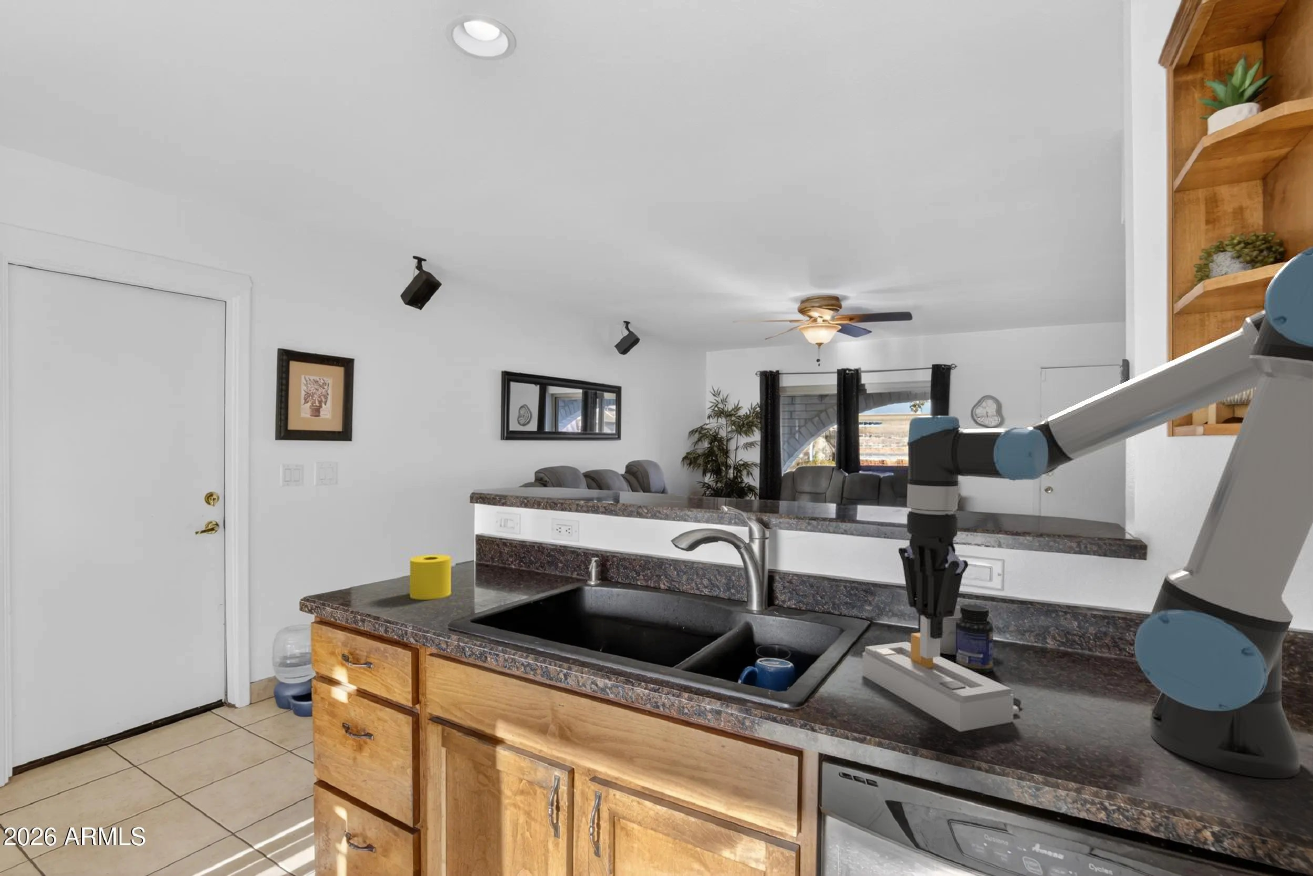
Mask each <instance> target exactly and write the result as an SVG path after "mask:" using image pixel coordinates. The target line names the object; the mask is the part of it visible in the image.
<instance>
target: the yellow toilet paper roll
mask: <svg viewBox="0 0 1313 876" xmlns="http://www.w3.org/2000/svg"><path fill="white" fill-rule="evenodd" d="M451 581H452V557H451V556H450V555H448V554H425V555H418V556H415V557H411V558H410V559H409V597H410V598H411V599H414V600H423V601H424V600H436V599H442V598H446V597H448V596H450V595H451V594H452V590H451V589H452V587H451V586H452V582H451Z"/></svg>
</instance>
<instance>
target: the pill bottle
mask: <svg viewBox="0 0 1313 876" xmlns="http://www.w3.org/2000/svg"><path fill="white" fill-rule="evenodd" d="M960 613H961V614H962V617H961V618H959V619H957V621H956V655H955V664H957V665H960V666H962V667H964V668H966V669H969V670H971V671H973V672H975V673H977V674H979V673H980V674H982V673H983V674H986V673H987V674H988V673H991V672H992V671H993V669H994V628H993V625H992V624H991V623H990V622H989V621H988V619H987V617H988V616H989V614H990V610H989V608H988V607H986V606H984V605H978V604H969V603H965V604H961V605H960Z"/></svg>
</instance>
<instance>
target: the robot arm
mask: <svg viewBox="0 0 1313 876" xmlns="http://www.w3.org/2000/svg"><path fill="white" fill-rule="evenodd" d="M1274 275H1275V276H1274V277H1273V278H1271V281H1270V283H1269V284H1268V286H1267V289H1266V291H1265V294H1264V305H1263V306H1264V309H1262V310H1261V311H1258V312H1256V313H1254V314H1252V315H1250V316H1248V317H1246V318H1245V319H1244V321H1243V324H1242V326H1241V328H1240V329H1239V330H1236V331H1234V332H1232V333H1230V334H1227V335H1226V336H1223V337H1221V338H1219V339H1217V340H1215V341H1213V342H1211V343H1208V344H1205V345H1204V346H1202V347H1199V348H1197V349H1196V350H1193V351H1191V352H1189V353H1186V354H1183V355H1181V356H1180V357H1177V358H1176V359H1174V360H1171V361H1169V362H1166V363H1165V364H1162V365H1160V366H1158V367H1156V368H1154V369H1151V370H1149V371H1148V372H1145V373H1143V374H1141V375H1138V376H1137V377H1134V378H1132V379H1130V380H1128V381H1125V382H1123V383H1121V384H1119V385H1117V386H1115V387H1113V388H1112V387H1111V388H1110V389H1108V390H1106V391H1104V392H1101V393H1098V394H1097V395H1095V396H1092V397H1091V398H1087V399H1086V400H1084V401H1081V402H1079V403H1077V404H1075V405H1073V406H1071V407H1069V408H1067V409H1064V410H1062V411H1060V412H1058V413H1055V414H1054V415H1051V416H1049V417H1048V418H1046V419H1042V420H1040V421H1038V422H1036V423H1034V424H1032V425H1029V426H1027V427H1025V428H1023V427H1009V428H1008V427H1007V428H1006V427H1005V428H1003V427H1000V428H999V427H997V428H994V427H993V428H991V427H990V428H989V427H988V428H965V427H961V425H960V418H958V417H957V416H954V415H920V416H919V415H917V416H915V417H912V418H911V420H910V422H909V428H908V440H907V443H906V445H907V447H908V449H907V451H908V453H907V455H908V457H907V461H908V462H907V465H908V467H907V469H908V470H907V471H908V473H907V474H908V475H907V476H908V478H907V491H906V492H907V493H906V494H907V495H906V507H907V508H908V509H910V510H909V511H908V512H907V513H906V532H907V533H908V534H909V535H910V539H909V542H908V543H909V544H908V545H907V546H904V547H899V548H898V554H899V556H900V557H899V558H900V559H901V562H902V568H903V574H904V582H905V589H906V595H907V602H908V605H909V607H910V608H914V609H915V610H916V613H917V614H918V615H917V616H918V623H917V625H918V627H917V628H918V633H920V656H923V657H925V658H933V657H941V653H940V638H942V636H943V619H944V617H951V616H954V612H955V608H956V607H957V602H958V598H959V594H960V588H961V586H962V585H961V584H962V580H963V575H964V573H965V572H966V570H967V568H968V567H969V562H968V561H967V560H966V559H960V558H959V556H958V555H957V554H956V548H955V547H956V546H955V545H954V540H955V537H956V536H957V535H958V515H957V513H955V511H957V510H958V500H959V493H958V492H959V477H975V478H976V477H977V478H989V479H1003V480H1005V479H1007V480H1009V481H1024V480H1026V481H1027V480H1028V481H1029V480H1038V479H1040V478H1041V477H1042V476H1043V475H1046V474H1048V473H1051V472H1053V471H1055V470H1057V469H1058V468H1059V467H1060V466H1062V465H1065V464H1067V463H1071V461H1074V460H1077V459H1079V458H1082V457H1085V456H1086V455H1089V454H1091V453H1094V452H1097V451H1099V450H1102V449H1105V448H1107V447H1109V446H1111V445H1114V444H1117V443H1119V442H1122V441H1125V440H1127V439H1129V438H1132V437H1134V436H1137V435H1139V434H1142V433H1144V432H1146V431H1149V430H1152V429H1155V428H1156V427H1157V428H1158V427H1159V426H1162V425H1165V424H1167V423H1169V422H1172V421H1173V420H1177V419H1179V418H1182V417H1184V416H1187V415H1189V414H1191V413H1194V412H1196V411H1200V410H1202V409H1204V408H1207V407H1209V406H1211V405H1214V404H1217V403H1219V402H1222V401H1225V400H1226V399H1229V398H1232V397H1234V396H1237V395H1240V394H1242V393H1245V392H1247V391H1250V390H1252V389H1254V392H1253V393H1252V396H1251V399H1250V402H1249V404H1248V407H1247V410H1246V412H1245V415H1244V417H1243V420H1242V422H1241V424H1240V427H1239V430H1238V433H1237V435H1236V438H1235V441H1234V442H1233V445H1232V448H1231V450H1230V453H1229V456H1228V459H1227V461H1226V463H1225V466H1224V469H1223V471H1222V475H1221V477H1220V479H1219V481H1218V484H1217V487H1216V490H1215V491H1214V494H1213V497H1212V500H1211V502H1210V504H1209V507H1208V510H1207V513H1206V515H1205V517H1204V520H1203V523H1202V525H1201V527H1200V531H1199V533H1198V536H1197V538H1196V541H1195V544H1194V545H1193V548H1192V550H1191V553H1190V555H1189V559H1188V562H1187V563H1186V565H1185V566H1183V567H1181V568H1178V569H1175V570H1173V571H1169V572H1167V573H1166V575H1165V577H1164V579H1163V582H1162V585H1161V586H1160V589H1159V592H1158V594H1157V597H1156V600H1155V603H1154V605H1153V606H1152V610H1151V613H1150V614H1149V616H1148V617H1147V618H1146V619H1145V620H1143V621H1142V623H1141V624H1140V625H1139V626H1138V629H1137V631H1136V633H1135V634H1136V635H1135V640H1134V653H1135V658H1136V661H1137V663H1138V666H1139V667H1140V669H1141V671H1142V672H1143V674H1144V675H1145V677H1146V678H1147V679H1148V681H1150V683H1151V684H1152V685H1153V686H1154V687H1155V688H1156V689H1158V690H1159V691H1160V694H1159V696H1158V699H1157V700H1156V703H1155V704H1154V707H1153V709H1152V711H1151V713H1150V715H1149V717H1150V718H1149V734H1150V736H1151V738H1152V739H1154V741H1156V743H1158V744H1159V745H1160V746H1162V747H1164V749H1165V748H1166V749H1167V750H1169V751H1171V752H1172V753H1174V754H1176V755H1178V756H1181V757H1183V758H1185V759H1188V760H1191V761H1192V762H1195V763H1198V764H1201V765H1202V766H1203V765H1204V766H1206V767H1210V768H1212V769H1213V768H1214V769H1216V770H1221V771H1224V772H1227V773H1228V772H1229V773H1233V774H1238V775H1243V776H1249V777H1255V778H1262V779H1286V778H1287V779H1288V778H1291V777H1294V776H1296V775H1298V774H1299V773H1300V771H1301V752H1300V749H1299V746H1298V744H1297V742H1296V738H1295V736H1294V734H1293V732H1292V729H1291V726H1290V723H1289V721H1288V719H1287V716H1286V713H1285V711H1284V708H1283V705H1282V685H1283V683H1282V677H1283V674H1282V673H1283V671H1282V669H1283V667H1282V666H1283V641H1284V640H1285V637H1286V635H1287V632H1288V630H1289V628H1290V625H1291V623H1292V621H1293V618H1294V615H1293V614H1292V612H1291V611H1290V610H1289V608H1288V607H1287V605H1286V603H1285V602H1284V601H1283V597H1282V595H1283V593H1284V591H1285V589H1286V586H1287V583H1288V582H1289V579H1290V577H1291V575H1292V573H1293V570H1294V568H1295V565H1296V562H1297V561H1298V558H1299V556H1300V553H1301V551H1302V548H1303V547H1304V544H1305V541H1306V540H1307V538H1308V535H1309V533H1310V530H1311V529H1312V526H1313V246H1312V247H1309V248H1307V249H1306V250H1303V251H1302V252H1300V253H1298V254H1297V255H1296V256H1294V257H1293V258H1291V259H1290V260H1289V261H1287V262H1286V263H1285V264H1283V265H1282V267H1281V268H1280V269H1279V270H1278V271H1277V272H1276V274H1274Z"/></svg>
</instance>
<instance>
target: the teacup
mask: <svg viewBox="0 0 1313 876" xmlns="http://www.w3.org/2000/svg"><path fill="white" fill-rule="evenodd" d="M961 617H962V614H961V613H960V607H959V606H956V608H955V612H954V616H951V617H944V619H943V636H942V638H940V654H946V655H953V656H954V655H955V656H956V621H957V619H959V618H961ZM987 620H988V621H989V622H990V623H991V624H992V625H993V629H995V625H996V623H995V618H994V617H993V616H992V614H990V613H989V616H988V617H987Z"/></svg>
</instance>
